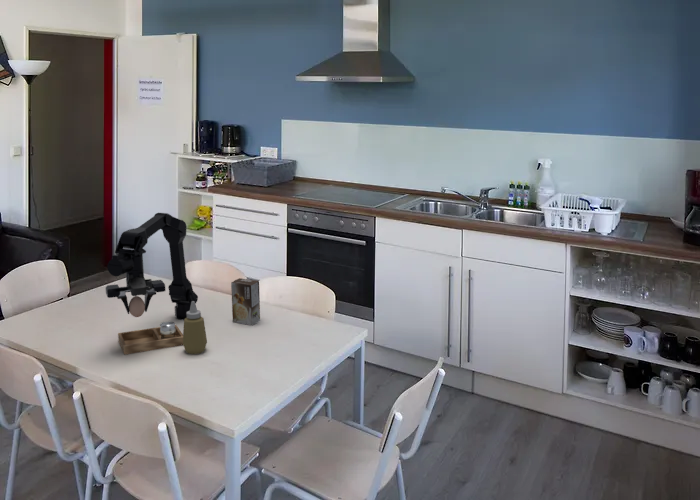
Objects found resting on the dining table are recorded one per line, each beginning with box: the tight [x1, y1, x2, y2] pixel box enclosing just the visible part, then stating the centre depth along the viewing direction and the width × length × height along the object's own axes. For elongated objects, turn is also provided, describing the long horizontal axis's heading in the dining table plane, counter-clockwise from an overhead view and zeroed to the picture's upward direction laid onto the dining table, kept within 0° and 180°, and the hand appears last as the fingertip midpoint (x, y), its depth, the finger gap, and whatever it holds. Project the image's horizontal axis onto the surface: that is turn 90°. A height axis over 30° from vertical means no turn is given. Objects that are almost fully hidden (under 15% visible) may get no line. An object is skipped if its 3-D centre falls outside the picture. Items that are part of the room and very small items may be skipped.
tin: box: [159, 321, 176, 340], centre depth 229 cm, size 5×5×6 cm
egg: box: [128, 295, 145, 318], centre depth 222 cm, size 5×5×7 cm
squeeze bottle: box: [182, 301, 208, 355], centre depth 219 cm, size 8×8×18 cm
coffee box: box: [230, 277, 261, 326], centre depth 248 cm, size 9×6×16 cm
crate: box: [117, 324, 184, 356], centre depth 227 cm, size 20×13×4 cm, turn 117°
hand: (137, 312), depth 223 cm, fingers closed on egg, 5 cm apart
